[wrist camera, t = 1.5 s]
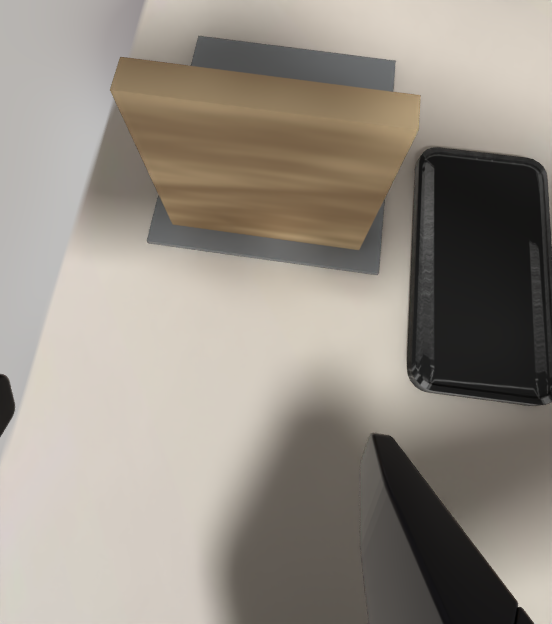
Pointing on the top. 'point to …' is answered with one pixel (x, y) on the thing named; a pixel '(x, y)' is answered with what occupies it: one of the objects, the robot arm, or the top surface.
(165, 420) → the top surface
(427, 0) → the top surface
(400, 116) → the oak block
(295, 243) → the charcoal mat
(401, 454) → the robot arm
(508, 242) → the phone
